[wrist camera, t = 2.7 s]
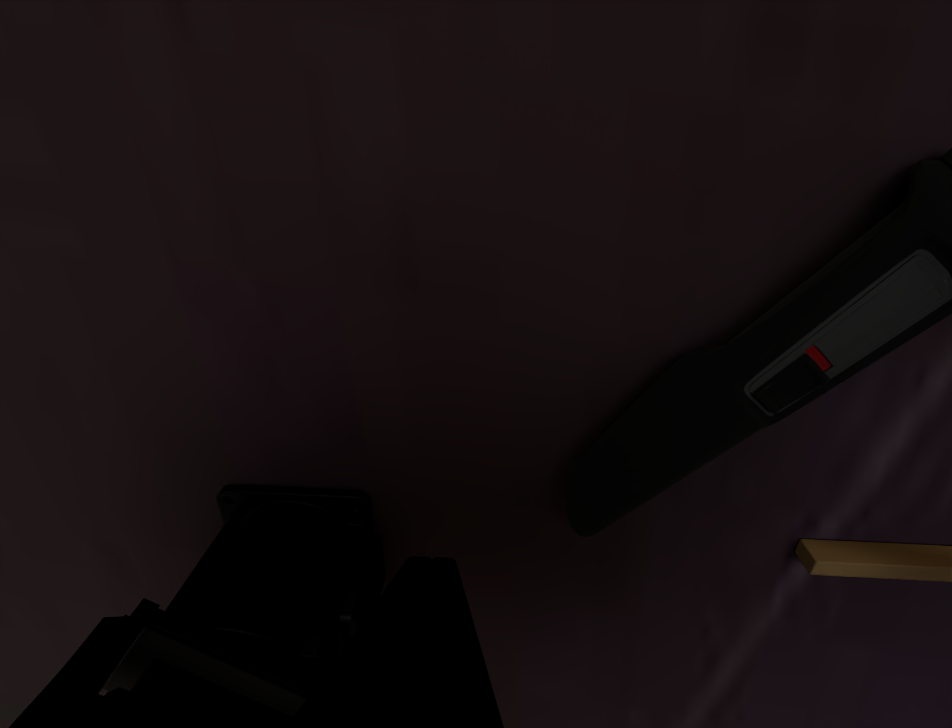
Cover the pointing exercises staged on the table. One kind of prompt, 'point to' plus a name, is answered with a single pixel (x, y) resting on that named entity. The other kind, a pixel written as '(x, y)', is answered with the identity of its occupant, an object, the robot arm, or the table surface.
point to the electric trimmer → (777, 357)
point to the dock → (876, 560)
